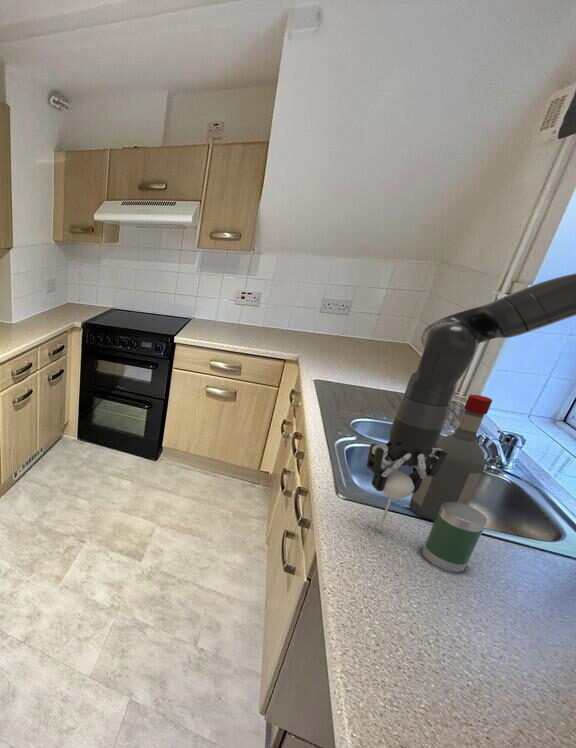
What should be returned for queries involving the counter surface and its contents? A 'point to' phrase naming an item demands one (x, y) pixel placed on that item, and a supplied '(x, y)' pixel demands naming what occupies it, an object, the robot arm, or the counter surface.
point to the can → (454, 536)
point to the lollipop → (396, 488)
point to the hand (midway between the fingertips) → (393, 489)
